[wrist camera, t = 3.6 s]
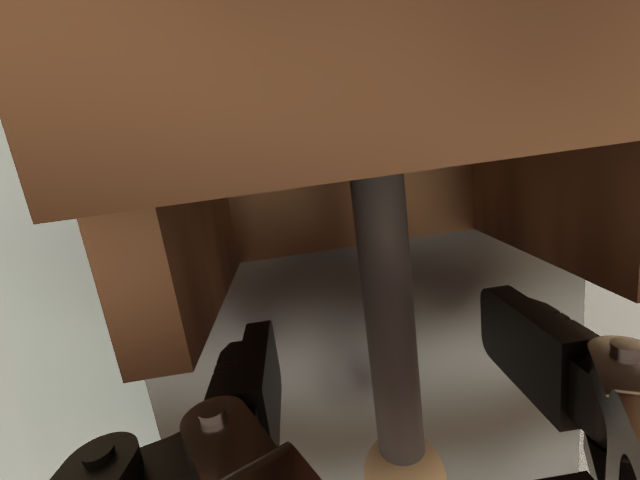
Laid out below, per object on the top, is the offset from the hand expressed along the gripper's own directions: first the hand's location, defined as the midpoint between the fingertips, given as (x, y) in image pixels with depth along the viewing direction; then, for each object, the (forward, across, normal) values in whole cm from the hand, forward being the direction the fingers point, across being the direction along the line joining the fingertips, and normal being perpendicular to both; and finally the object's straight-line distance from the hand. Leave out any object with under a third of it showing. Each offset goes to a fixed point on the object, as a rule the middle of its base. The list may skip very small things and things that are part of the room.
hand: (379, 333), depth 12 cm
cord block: (+2, 0, -5) cm, 5 cm away
